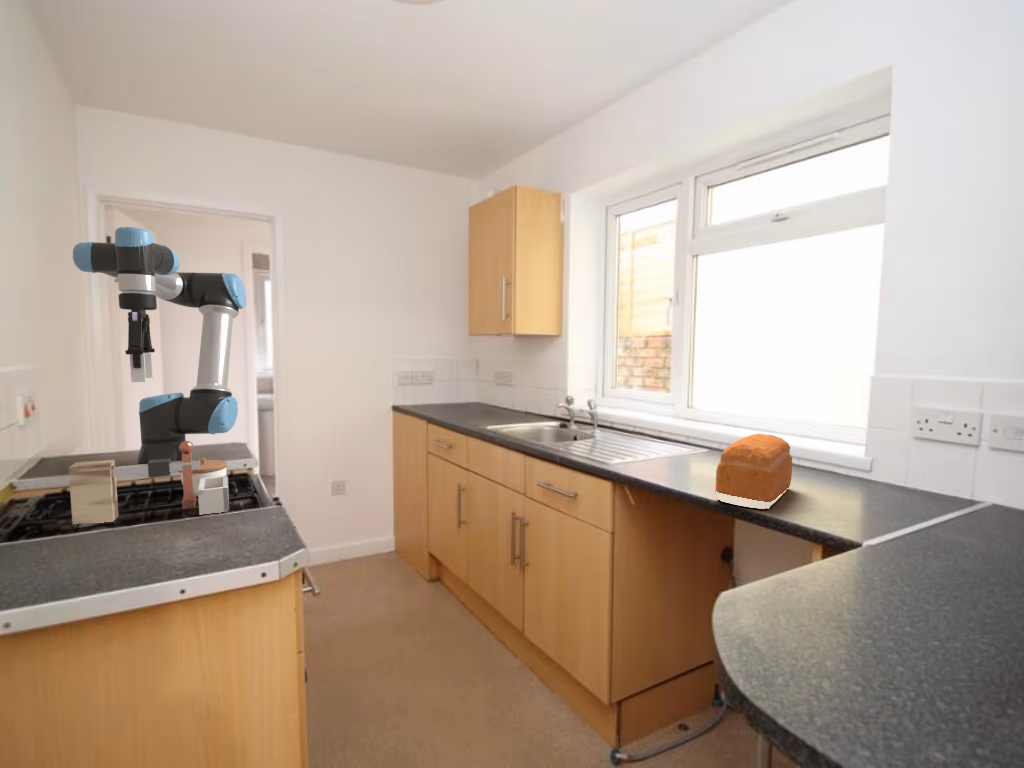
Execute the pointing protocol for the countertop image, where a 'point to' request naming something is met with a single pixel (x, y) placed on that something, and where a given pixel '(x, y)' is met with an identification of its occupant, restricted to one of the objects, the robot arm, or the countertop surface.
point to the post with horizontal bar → (167, 471)
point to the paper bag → (93, 492)
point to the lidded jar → (207, 471)
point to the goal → (213, 495)
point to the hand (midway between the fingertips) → (142, 380)
